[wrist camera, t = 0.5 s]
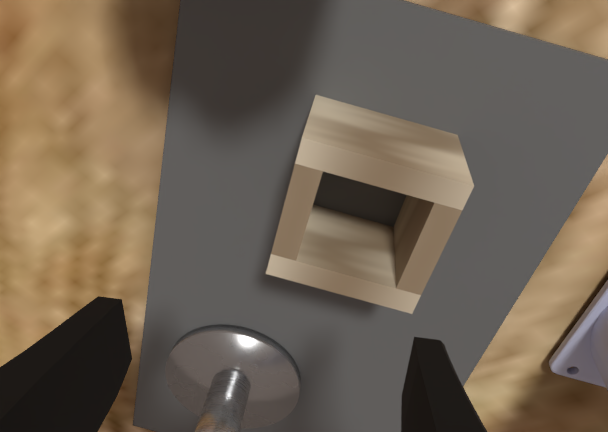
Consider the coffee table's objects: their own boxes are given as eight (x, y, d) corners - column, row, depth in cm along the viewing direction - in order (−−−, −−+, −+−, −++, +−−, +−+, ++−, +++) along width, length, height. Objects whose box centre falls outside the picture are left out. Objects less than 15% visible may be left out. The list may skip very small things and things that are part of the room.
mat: (651, 71, 18) (656, 75, 17) (395, 488, 32) (395, 495, 31) (191, -62, 17) (187, -61, 17) (135, 419, 31) (133, 425, 31)
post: (315, 346, 26) (300, 453, 21) (284, 432, 29) (265, 540, 24) (176, 308, 26) (128, 407, 21) (162, 399, 29) (118, 501, 24)
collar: (457, 134, 19) (474, 186, 16) (406, 250, 22) (412, 314, 19) (315, 94, 19) (301, 137, 16) (283, 215, 22) (265, 273, 19)
